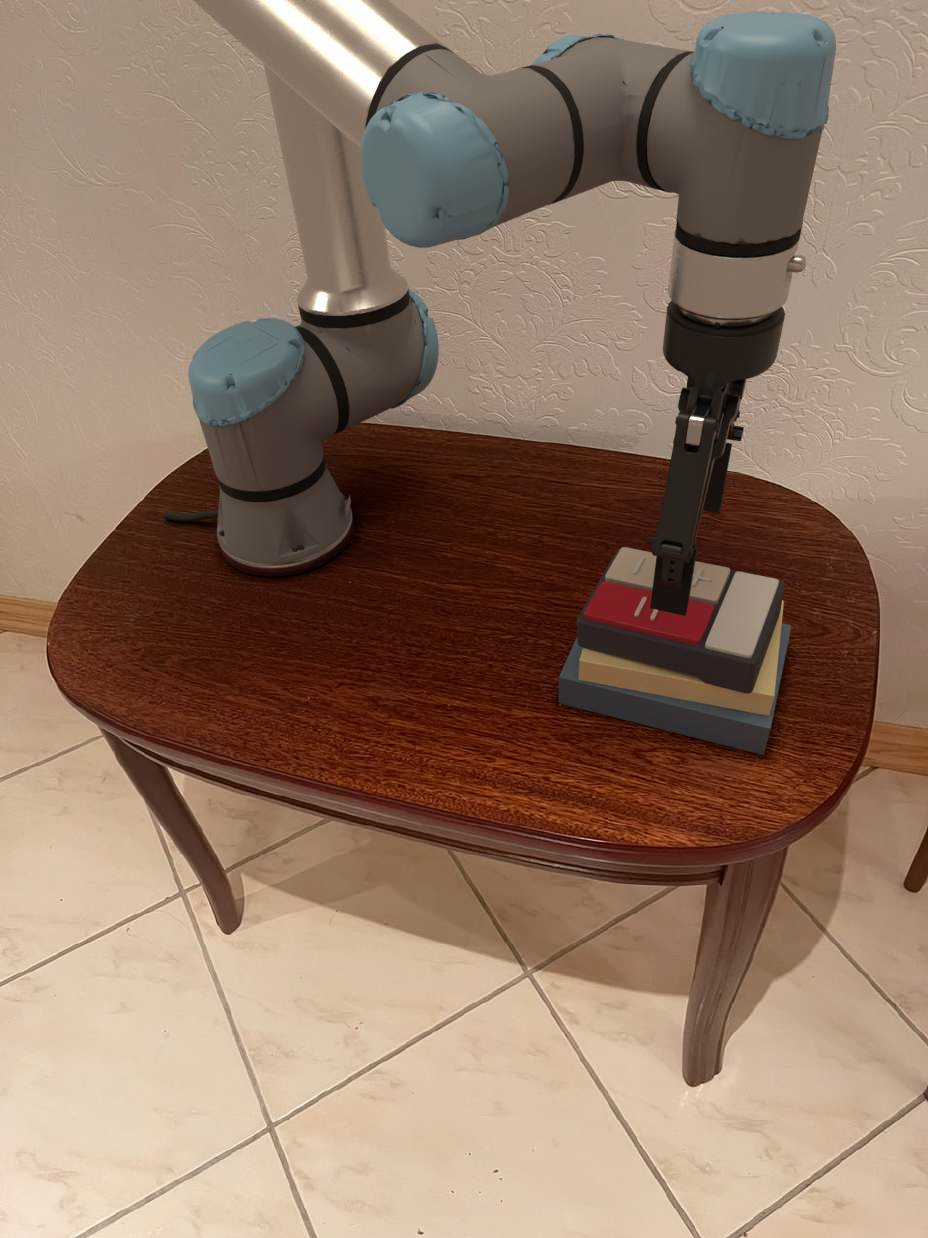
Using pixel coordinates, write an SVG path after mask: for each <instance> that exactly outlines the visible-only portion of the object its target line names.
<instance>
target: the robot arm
mask: <svg viewBox="0 0 928 1238" xmlns="http://www.w3.org/2000/svg"><path fill="white" fill-rule="evenodd" d="M192 1H193V2H194V4H196V5H197V6H198V7H199V8H200V9H201V10H203V11H204V12H205V13H206V14H207V15H208V16H209V17H211V18H212V19H213V20H214V21H215V22H216V23H218V25H220V26H221V27H222V28H223V29H224V30H225V31H226V32H228V34H230V35H231V36H232V37H233V38H234V39H235V40H236V41H238V43H240V44H241V45H242V46H243V47H245V49H247V50H248V51H249V52H250V53H251V54H252V55H253V56H255V58H257V59H258V60H259V61H260V62H261V63H263V69H264V73H265V78H266V83H267V88H268V93H269V97H270V103H271V107H272V112H273V117H274V122H275V127H276V133H277V137H278V142H279V147H280V151H281V155H282V160H283V165H284V170H285V176H286V181H287V186H288V189H289V195H290V201H291V205H292V209H293V215H294V220H295V224H296V229H297V233H298V238H299V239H298V240H299V243H300V249H301V254H302V259H303V264H304V267H305V274H306V277H307V279H306V281H305V283H304V285H303V286H302V287H301V289H300V290H299V291H298V293H297V296H296V301H297V302H296V303H297V306H298V311H299V317H300V323H299V324H297V325H293V324H292V323H291V322H289V321H287V320H285V319H284V320H283V319H280V318H271V317H270V318H269V317H266V318H258V319H257V320H255V321H253V322H251V321H250V320H245V321H242V322H238V323H235V324H233V325H230V326H227V327H225V328H223V329H222V330H219V331H218V332H216V333H214V334H213V335H212V336H210V337H209V338H207V339H206V340H205V341H204V342H203V343H202V344H201V345H200V346H199V347H198V348H197V349H196V350H195V352H194V354H193V356H192V359H191V361H190V364H188V372H187V373H188V374H187V376H188V382H189V386H190V391H191V395H192V406H193V410H194V412H195V415H196V418H198V421H199V425H200V427H201V430H202V433H203V437H204V440H205V444H206V447H207V450H208V453H209V456H210V460H211V463H212V466H213V471H214V473H215V476H216V480H217V483H218V486H219V499H218V500H219V501H218V509H215V510H214V509H213V510H205V511H198V512H191V513H178V512H171V511H165V512H164V513H163V518H164V519H165V520H168V521H169V520H170V521H175V522H196V521H200V520H201V521H202V520H210V519H217V524H216V525H217V527H216V538H217V542H218V545H219V548H220V551H221V554H222V557H223V558H224V560H225V561H226V562H227V563H228V564H229V565H230V566H231V567H234V569H237V570H238V571H241V572H242V573H246V574H249V575H254V576H260V577H270V578H271V577H286V576H293V575H298V574H301V573H305V572H309V571H311V570H314V569H316V568H319V567H321V566H322V565H325V564H326V563H328V562H330V561H331V560H333V559H334V558H336V557H337V556H338V555H339V554H340V553H341V552H343V551H344V549H345V548H346V547H347V546H348V545H349V543H350V541H351V540H352V538H353V535H354V531H355V522H354V517H353V511H352V507H351V503H352V500H351V499H352V498H351V494H349V495H348V498H346V497H345V495H344V494H343V493H342V492H341V491H340V489H339V486H338V484H337V483H336V481H335V479H334V478H333V476H332V474H331V472H330V471H329V469H328V467H327V463H326V462H327V461H326V457H325V453H324V452H325V451H324V448H323V446H324V445H323V441H325V440H327V439H329V438H331V437H333V436H335V435H337V434H339V433H342V432H344V431H346V430H348V429H350V428H353V427H355V426H356V425H358V424H361V423H362V422H365V421H368V420H370V419H371V418H373V417H376V416H378V415H380V414H382V413H384V412H386V411H388V410H391V409H393V410H394V409H396V408H399V407H400V406H402V405H404V404H405V403H406V402H407V401H409V400H411V399H413V398H414V397H415V396H417V395H419V394H420V393H422V392H423V391H424V390H425V389H426V388H427V387H429V385H430V384H431V382H432V380H433V379H434V377H435V374H436V371H437V368H438V363H439V355H440V345H439V335H438V331H437V327H436V324H435V321H434V319H433V317H429V308H428V306H427V304H426V303H425V301H424V300H423V299H422V297H421V296H419V295H418V293H416V292H415V291H414V290H412V289H410V288H409V283H408V280H407V279H406V278H405V277H404V276H403V275H402V274H401V273H399V272H398V271H396V270H395V269H394V268H393V267H392V266H391V259H390V253H389V247H388V239H387V232H386V230H387V231H388V232H389V234H391V235H392V237H394V238H395V239H397V241H399V242H401V243H403V244H405V245H407V246H410V247H414V248H419V249H426V248H434V247H437V246H439V245H440V246H441V245H443V244H447V243H451V242H454V241H462V240H467V239H470V238H473V237H477V236H480V235H482V234H483V233H486V232H487V231H489V230H491V229H492V228H494V227H497V226H500V225H502V224H505V223H507V222H509V221H512V220H515V219H517V218H519V217H521V216H525V215H527V214H529V213H532V212H534V211H537V210H539V209H542V208H544V207H546V206H550V205H554V204H557V203H558V202H562V201H564V200H567V199H569V198H573V197H575V196H578V195H580V194H583V193H585V192H587V191H592V190H593V189H595V188H598V187H601V186H603V185H605V184H608V183H611V182H627V183H630V184H634V185H638V186H643V187H646V188H650V189H654V190H656V191H662V192H665V193H674V194H676V195H678V199H677V210H676V224H675V229H674V235H673V242H672V243H673V244H672V251H671V261H670V269H669V276H668V277H669V278H668V286H667V288H668V289H667V294H668V295H667V296H668V297H669V298H670V301H669V303H668V304H667V306H666V315H665V324H664V333H663V341H662V354H663V357H664V359H665V360H666V362H667V363H668V365H669V366H671V367H672V368H673V369H674V370H676V371H678V372H680V373H681V374H683V375H685V376H686V377H687V378H686V379H687V380H686V387H682V388H681V390H680V395H679V399H678V403H677V409H678V411H679V412H678V414H677V415H676V417H675V421H674V422H675V423H674V424H675V430H674V431H675V432H674V437H673V441H672V450H671V456H670V460H669V466H668V471H667V476H666V482H665V487H664V491H663V497H662V501H661V507H660V513H659V517H658V522H657V527H656V533H655V536H654V537H653V536H647V538H646V546H649V547H651V552H652V554H653V556H656V564H655V572H654V580H653V588H652V596H651V604H650V608H651V609H656V610H660V611H665V612H669V613H674V614H678V615H683V616H686V613H687V609H688V603H689V597H690V591H691V585H692V579H693V573H694V566H695V561H696V560H697V554H698V549H699V548H698V547H699V542H697V537H698V533H699V528H700V524H701V520H702V515H703V512H709V513H714V514H720V511H721V508H722V502H723V497H724V492H725V486H726V480H727V475H728V471H729V465H730V458H731V453H732V447H733V443H731V442H727V440H728V441H735V442H742V438H743V434H744V429H745V426H740V425H735V424H736V422H737V421H738V419H739V418H740V417H741V416H740V415H741V411H740V406H741V402H742V399H743V397H744V393H745V388H746V385H747V380H750V379H752V378H755V377H759V376H760V375H762V374H764V373H766V371H768V370H770V368H772V366H773V365H774V363H776V360H777V358H778V357H777V356H778V353H779V347H780V343H781V337H782V333H783V327H784V323H785V318H786V311H785V309H784V307H783V306H784V305H785V304H786V303H787V301H788V299H789V294H790V289H791V284H792V279H793V273H795V274H796V273H797V274H798V273H802V272H803V271H804V270H806V266H807V259H806V256H804V255H801V254H800V255H799V254H798V255H795V254H796V252H797V250H798V248H799V242H800V239H801V234H802V229H803V224H804V216H805V212H806V207H807V203H808V199H809V193H810V189H811V185H812V184H811V183H812V180H813V175H814V172H815V166H816V162H817V158H818V152H819V148H820V143H821V140H822V136H823V135H822V134H823V131H824V130H825V125H827V124H828V121H829V114H830V113H829V111H830V108H829V100H830V93H831V86H832V78H833V74H834V73H833V72H834V68H835V67H834V65H835V59H836V53H837V39H836V35H835V32H834V30H833V28H832V27H831V26H830V24H828V23H827V22H826V21H825V20H823V19H822V18H819V17H817V16H814V15H809V14H805V13H799V12H790V11H780V12H769V11H747V12H738V13H731V14H725V15H723V16H718V17H716V18H713V19H711V20H709V21H708V22H706V23H705V24H704V25H703V26H702V28H701V29H700V30H699V32H698V34H697V36H696V40H695V45H694V51H693V50H685V49H680V48H674V47H673V48H672V47H667V46H662V45H657V44H656V45H655V44H650V43H644V42H638V41H632V40H627V39H624V38H622V37H615V35H612V34H607V33H598V34H595V35H583V34H582V35H580V34H569V35H565V36H561V37H560V38H557V39H555V40H553V41H552V42H551V43H550V44H549V45H548V46H547V48H546V49H545V50H544V52H543V53H542V54H541V55H539V57H537V58H536V59H535V60H534V62H533V63H532V64H531V65H526V66H523V67H522V66H521V67H519V68H516V69H512V70H509V71H505V72H500V73H497V74H493V75H490V74H485V73H483V72H480V71H479V70H477V69H476V68H475V67H474V66H472V65H471V64H470V63H469V62H467V61H466V60H465V59H463V58H462V57H460V56H459V55H458V54H457V53H455V52H454V51H452V49H450V48H449V47H447V46H446V45H445V44H443V42H441V40H439V39H437V38H436V36H434V35H433V34H432V33H430V32H429V31H428V30H427V29H425V28H424V27H422V26H421V25H420V24H419V23H417V21H415V20H414V19H413V18H411V17H410V16H409V15H408V14H407V13H405V12H404V11H403V10H401V9H400V8H399V7H398V6H397V5H395V4H394V3H393V2H392V1H390V0H192Z"/></svg>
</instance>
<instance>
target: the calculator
mask: <svg viewBox="0 0 928 1238" xmlns="http://www.w3.org/2000/svg"><path fill="white" fill-rule="evenodd" d="M655 564H656V556H653V554H652V551H646V550H641V549H638V548H637V549H636V548H632V547H626V546H623V547H621V548H619V549H617V550H616V552H615V553H614V555H613V557H612V558H611V560H610V562H609V564H608V565H607V567H606V569H605V570H604V572H603V574H602V575H601V576H600V579H599V581H598V582H597V584H596V586H595V587H594V589H593V591H592V593H591V594H590V596H589V597H588V599H587V601H586V603H585V605H584V606H583V608H582V610H581V611H580V613H579V615H578V617H577V618H576V634H577V635H576V638H577V641H578V645H579V646H580V647H583V648H587V649H591V650H595V651H599V652H603V653H607V654H611V655H615V656H619V657H623V658H627V659H631V660H635V661H639V662H643V663H647V664H651V665H655V666H659V667H663V668H667V669H671V670H675V671H679V672H683V673H687V674H691V675H694V676H696V677H697V678H699V679H700V680H702V681H703V682H704V683H706V684H710V685H714V686H718V687H722V688H726V689H730V690H734V691H737V692H741V693H746V694H749V693H751V692H752V691H753V689H754V686H755V683H756V680H757V677H758V674H759V672H760V669H761V666H762V663H763V660H764V657H765V655H766V652H767V649H768V646H769V643H770V640H771V638H772V635H773V632H774V629H775V626H776V623H777V621H778V618H779V615H780V611H781V605H782V600H783V599H784V593H785V586H786V582H785V581H784V580H782V579H777V578H774V577H769V576H763V575H759V574H753V573H749V572H745V571H738V570H733V569H731V568H730V567H727V566H722V565H716V564H713V563H712V564H711V563H707V562H703V561H696V560H695V566H694V573H693V579H692V585H691V591H690V597H689V603H688V609H687V613H686V616H683V615H678V614H674V613H669V612H665V611H660V610H656V609H651V608H650V604H651V596H652V588H653V580H654V572H655Z"/></svg>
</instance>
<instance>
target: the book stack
mask: <svg viewBox="0 0 928 1238" xmlns="http://www.w3.org/2000/svg"><path fill="white" fill-rule="evenodd" d="M784 606H785V600H783V599H782V605H781V611H780V615H779V618H778V621H777V623H776V626H775V629H774V632H773V635H772V638H771V640H770V643H769V646H768V649H767V652H766V655H765V657H764V660H763V663H762V666H761V669H760V672H759V674H758V677H757V680H756V683H755V686H754V689H753V691H752V692H751V693H749V694H746V693H741V692H737V691H734V690H730V689H726V688H722V687H718V686H714V685H710V684H706V683H704V682H703V681H702V680H700V679H699V678H697V677H696V676H694V675H691V674H687V673H683V672H679V671H675V670H671V669H667V668H663V667H659V666H655V665H651V664H647V663H643V662H639V661H635V660H631V659H627V658H623V657H619V656H615V655H611V654H607V653H603V652H599V651H595V650H591V649H587V648H583V647H580V646H579V645H578V641H577V637H576V638H575V640H574V642H573V645H572V647H571V649H570V651H569V654H568V656H567V658H566V659H565V663H564V665H563V667H562V670H561V671H560V674H559V676H558V704H559V705H565V706H569V707H571V708H575V709H580V710H584V711H587V712H592V713H594V714H595V713H596V714H599V715H603V716H607V717H610V718H614V719H615V718H616V719H619V720H623V721H626V722H630V723H634V724H637V725H638V724H639V725H643V726H647V727H650V728H654V729H659V730H663V731H666V732H671V733H674V734H678V735H682V736H685V737H690V738H694V739H698V740H702V741H706V742H710V743H714V744H717V745H721V746H725V747H729V748H733V749H736V750H741V751H746V752H748V753H753V754H757V755H759V756H764V755H765V752H766V749H767V745H768V741H769V737H770V733H771V730H772V724H773V720H774V715H775V709H776V705H777V700H778V696H779V691H780V685H781V680H782V676H783V671H784V665H785V661H786V655H787V650H788V645H789V641H790V636H791V630H792V625H791V624H787V623H783V616H784Z"/></svg>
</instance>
